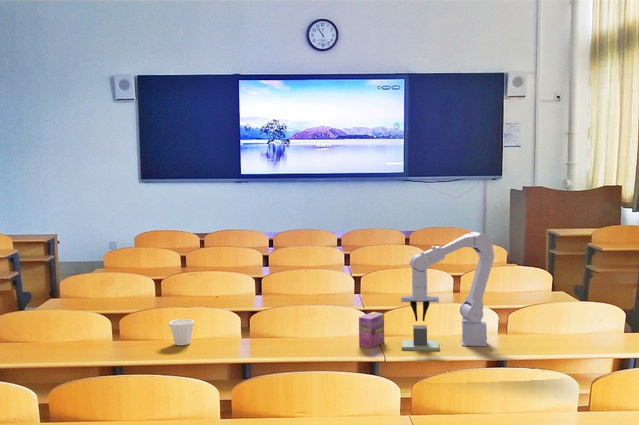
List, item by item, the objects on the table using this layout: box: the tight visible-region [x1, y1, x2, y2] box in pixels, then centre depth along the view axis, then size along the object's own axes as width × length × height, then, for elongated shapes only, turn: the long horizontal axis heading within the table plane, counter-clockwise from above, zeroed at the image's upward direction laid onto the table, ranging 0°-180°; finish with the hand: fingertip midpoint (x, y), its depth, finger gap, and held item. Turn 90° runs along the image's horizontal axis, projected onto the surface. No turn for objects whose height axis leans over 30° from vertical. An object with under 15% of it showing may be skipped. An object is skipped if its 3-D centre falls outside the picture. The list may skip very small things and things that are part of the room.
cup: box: [168, 318, 195, 347], centre depth 255 cm, size 10×10×9 cm
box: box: [358, 311, 385, 349], centre depth 249 cm, size 10×6×12 cm, turn 143°
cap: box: [412, 324, 428, 346], centre depth 244 cm, size 5×5×7 cm
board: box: [401, 339, 440, 352], centre depth 245 cm, size 14×10×1 cm
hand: (420, 320), depth 244 cm, fingers open, 2 cm apart
